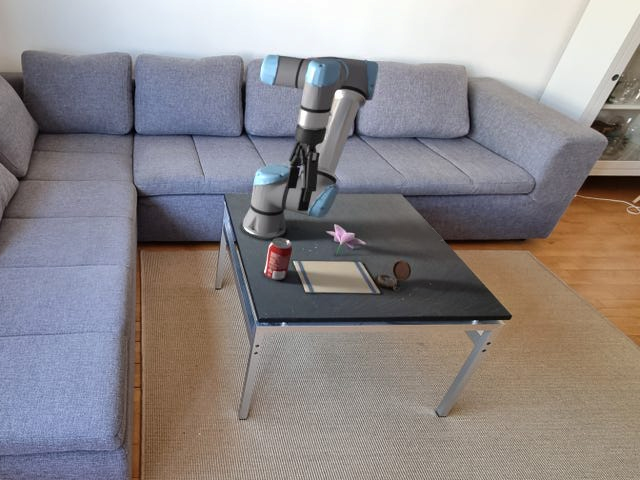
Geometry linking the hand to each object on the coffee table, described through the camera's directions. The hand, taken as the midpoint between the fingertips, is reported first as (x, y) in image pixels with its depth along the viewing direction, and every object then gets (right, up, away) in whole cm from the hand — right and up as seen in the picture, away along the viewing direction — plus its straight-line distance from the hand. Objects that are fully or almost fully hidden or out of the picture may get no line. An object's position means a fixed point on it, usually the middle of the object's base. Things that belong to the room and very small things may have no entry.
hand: (296, 198), depth 127 cm
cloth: (+15, -23, +10) cm, 29 cm away
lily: (+22, -14, +23) cm, 34 cm away
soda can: (-4, -22, +10) cm, 25 cm away
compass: (+31, -25, +7) cm, 41 cm away
